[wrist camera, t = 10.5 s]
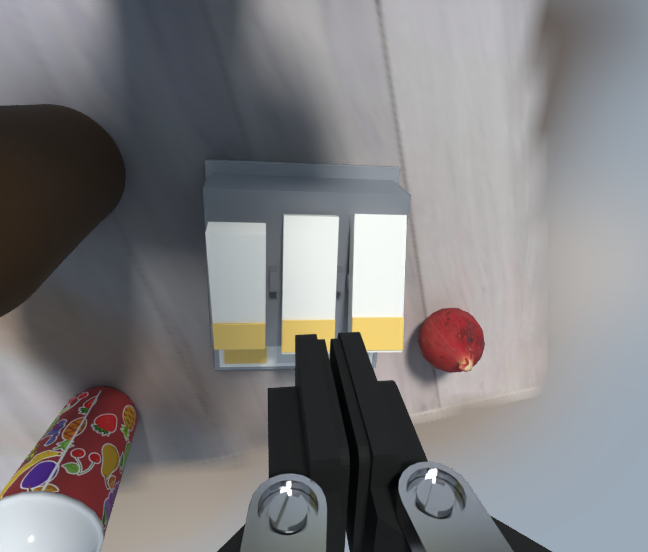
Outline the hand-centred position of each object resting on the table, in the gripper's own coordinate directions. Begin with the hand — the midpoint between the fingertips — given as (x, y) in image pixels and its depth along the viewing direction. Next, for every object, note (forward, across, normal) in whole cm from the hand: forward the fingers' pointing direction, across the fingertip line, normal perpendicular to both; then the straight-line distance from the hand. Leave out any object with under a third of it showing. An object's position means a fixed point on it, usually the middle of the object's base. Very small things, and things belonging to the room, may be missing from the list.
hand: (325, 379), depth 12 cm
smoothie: (+28, +18, +24) cm, 41 cm away
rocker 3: (+20, -6, +8) cm, 23 cm away
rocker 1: (+21, +4, +7) cm, 22 cm away
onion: (+28, -15, +16) cm, 35 cm away
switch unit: (+28, -1, +10) cm, 30 cm away
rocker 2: (+21, -1, +8) cm, 22 cm away
